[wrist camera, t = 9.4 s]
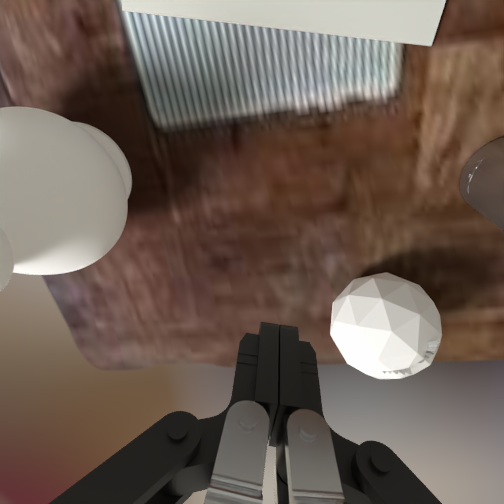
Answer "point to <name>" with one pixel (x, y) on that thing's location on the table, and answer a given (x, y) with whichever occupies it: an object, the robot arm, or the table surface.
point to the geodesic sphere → (386, 326)
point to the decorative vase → (57, 193)
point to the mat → (313, 16)
